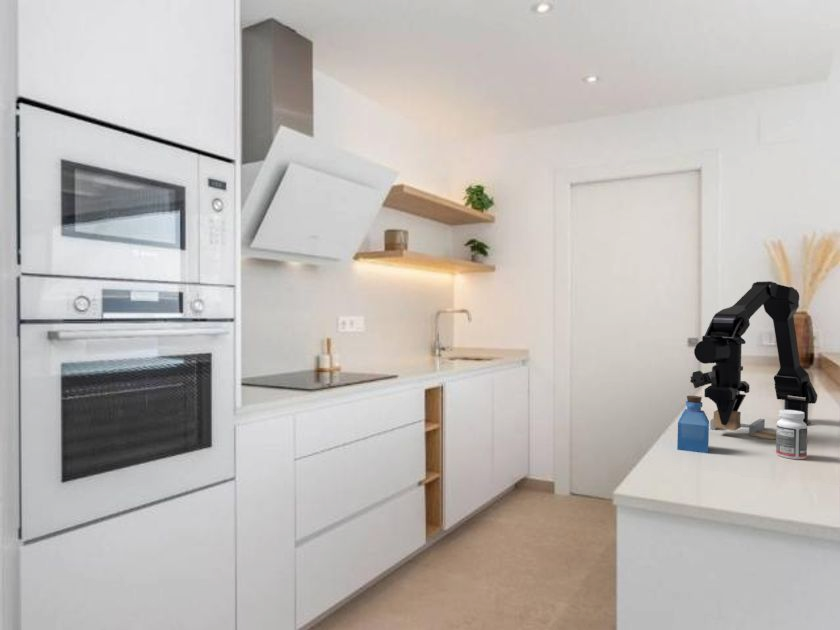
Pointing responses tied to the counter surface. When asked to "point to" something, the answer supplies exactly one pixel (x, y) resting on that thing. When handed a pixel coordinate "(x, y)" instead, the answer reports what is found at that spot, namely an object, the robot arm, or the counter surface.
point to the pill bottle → (791, 435)
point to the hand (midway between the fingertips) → (726, 423)
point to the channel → (752, 427)
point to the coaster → (765, 434)
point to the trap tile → (744, 425)
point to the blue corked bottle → (693, 427)
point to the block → (732, 422)
